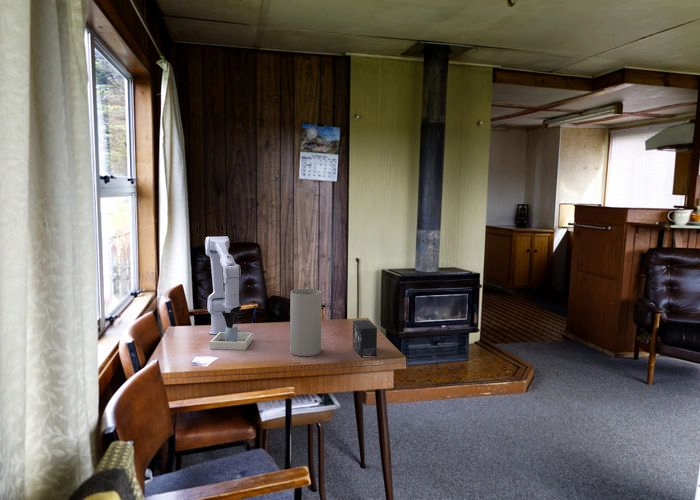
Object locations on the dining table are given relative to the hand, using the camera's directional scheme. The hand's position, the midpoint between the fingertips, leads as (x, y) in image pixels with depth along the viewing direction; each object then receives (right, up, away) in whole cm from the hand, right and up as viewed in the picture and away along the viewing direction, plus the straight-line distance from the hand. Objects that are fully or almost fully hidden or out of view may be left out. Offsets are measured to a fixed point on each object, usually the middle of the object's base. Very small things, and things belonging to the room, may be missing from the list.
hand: (231, 325), depth 210 cm
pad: (0, -8, +1) cm, 8 cm away
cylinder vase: (+32, -10, -8) cm, 34 cm away
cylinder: (0, -8, +1) cm, 8 cm away
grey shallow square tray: (0, -8, +1) cm, 8 cm away
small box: (+56, -10, -6) cm, 57 cm away
